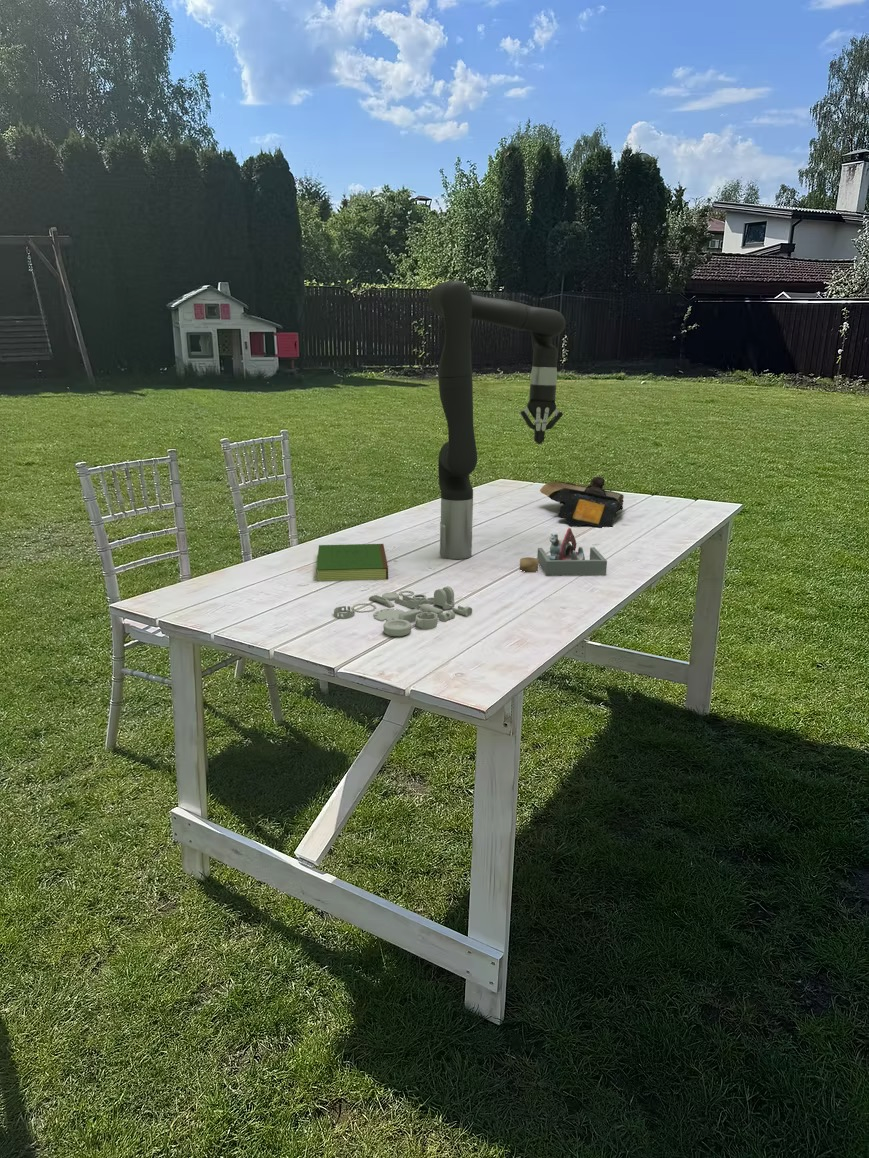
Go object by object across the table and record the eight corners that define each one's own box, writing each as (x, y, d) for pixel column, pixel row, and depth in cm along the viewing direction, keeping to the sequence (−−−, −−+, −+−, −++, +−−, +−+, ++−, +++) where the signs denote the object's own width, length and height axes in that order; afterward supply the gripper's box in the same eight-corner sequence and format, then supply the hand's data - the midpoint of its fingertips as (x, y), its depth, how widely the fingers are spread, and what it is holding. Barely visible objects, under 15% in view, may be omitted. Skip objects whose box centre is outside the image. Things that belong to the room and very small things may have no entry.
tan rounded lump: (521, 573, 214) (521, 562, 213) (518, 567, 219) (518, 557, 218) (539, 573, 214) (539, 562, 213) (536, 567, 219) (536, 557, 218)
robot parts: (324, 616, 184) (323, 594, 182) (403, 591, 200) (403, 571, 199) (395, 645, 167) (394, 621, 165) (474, 615, 183) (475, 594, 182)
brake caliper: (582, 566, 212) (559, 528, 213) (551, 584, 218) (529, 547, 219) (597, 556, 221) (575, 520, 222) (567, 574, 228) (545, 538, 228)
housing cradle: (546, 575, 211) (546, 561, 210) (537, 561, 224) (537, 547, 223) (606, 575, 212) (607, 560, 211) (593, 560, 225) (594, 547, 224)
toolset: (636, 527, 260) (574, 478, 255) (596, 568, 268) (535, 522, 264) (626, 486, 295) (571, 443, 291) (590, 524, 304) (536, 482, 299)
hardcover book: (388, 581, 208) (388, 567, 207) (316, 583, 206) (316, 569, 205) (383, 555, 231) (383, 543, 230) (319, 556, 229) (318, 544, 228)
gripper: (523, 383, 222) (518, 444, 227) (568, 384, 223) (563, 445, 228) (518, 381, 229) (514, 441, 234) (562, 383, 230) (558, 442, 235)
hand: (538, 443), depth 231 cm, fingers closed
